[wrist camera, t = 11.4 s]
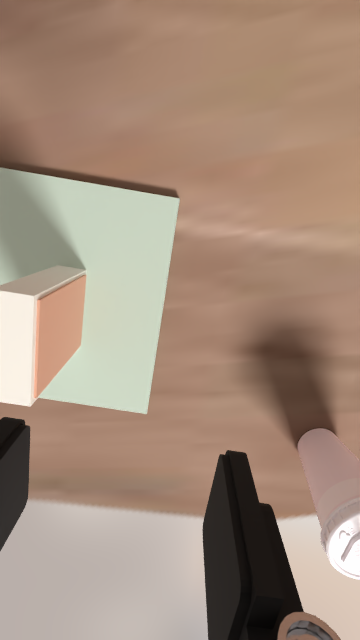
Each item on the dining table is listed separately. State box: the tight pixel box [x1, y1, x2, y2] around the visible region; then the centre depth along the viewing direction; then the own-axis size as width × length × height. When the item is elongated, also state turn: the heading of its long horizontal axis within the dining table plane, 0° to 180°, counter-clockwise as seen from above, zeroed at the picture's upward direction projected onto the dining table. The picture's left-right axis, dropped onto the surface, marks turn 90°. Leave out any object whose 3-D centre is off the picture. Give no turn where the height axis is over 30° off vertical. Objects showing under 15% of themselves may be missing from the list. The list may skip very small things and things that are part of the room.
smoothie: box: [298, 428, 360, 580], centre depth 23 cm, size 6×6×14 cm
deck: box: [0, 265, 87, 406], centre depth 21 cm, size 6×2×9 cm, turn 171°
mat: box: [0, 168, 180, 414], centre depth 26 cm, size 18×20×1 cm
